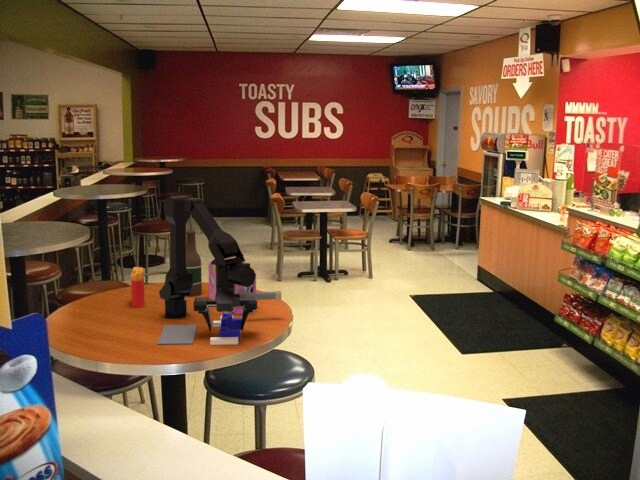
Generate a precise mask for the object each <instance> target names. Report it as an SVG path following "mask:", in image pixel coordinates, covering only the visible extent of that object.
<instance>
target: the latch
mask: <svg viewBox="0 0 640 480" xmlns="http://www.w3.org/2000/svg"><path fill="white" fill-rule="evenodd" d="M235 294H240V300H244V296H256V297H257V301H261V300H263V301H264V300H268V301H269V300H275V301H282V291H281V290H275V291H256V292H237V293H235ZM222 314H232V312H228V311H222Z"/></svg>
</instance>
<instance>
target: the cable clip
mask: <svg viewBox="0 0 640 480" xmlns="http://www.w3.org/2000/svg"><path fill="white" fill-rule="evenodd" d="M232 315H233V313H231V314H223V313H222V314H221V316H222V318H221V317H220V318H221V327H219V331H218V332H219V334H218V337H238V342H241V322H242V317H240V318H239V317H236V318H234V317H233V318H232Z"/></svg>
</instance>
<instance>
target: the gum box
mask: <svg viewBox="0 0 640 480" xmlns="http://www.w3.org/2000/svg"><path fill="white" fill-rule="evenodd" d="M211 262H212V261H210V262H208V300H209V299H210V300H215V295H216V268H215V265H213V264H211ZM255 274H256V275H257V272H255ZM237 292H257V276H256V277H255V281H254V283H253V284H252V285H251V286H249V287H244V286H240V285H237V284H235V293H237ZM255 312H257V309H256V310H253V312H250V313H255ZM231 313H232V314H233V315H236V316H237V315H242V314H243V306H237V307H233V311H232V312H231ZM250 313H249V314H250Z"/></svg>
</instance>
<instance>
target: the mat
mask: <svg viewBox="0 0 640 480" xmlns="http://www.w3.org/2000/svg"><path fill="white" fill-rule="evenodd" d="M197 328H198V324H164V326H163V329H162V331H161V334H160V336H159V338H158V341H157V344H156V345H157V346H170V345H171V346H173V345H174V346H177V345H178V346H179V345H183V346H186V345H193V344H194V342H195V336H196V332H197Z"/></svg>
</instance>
